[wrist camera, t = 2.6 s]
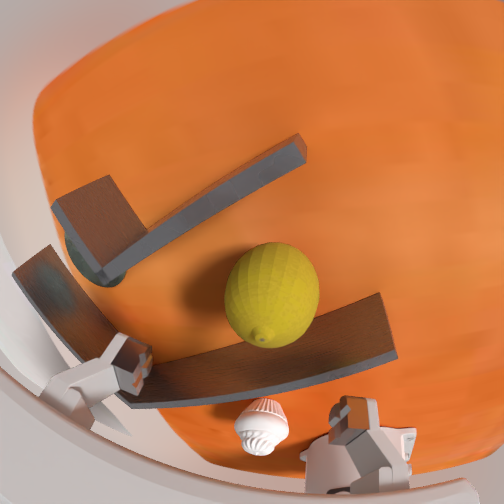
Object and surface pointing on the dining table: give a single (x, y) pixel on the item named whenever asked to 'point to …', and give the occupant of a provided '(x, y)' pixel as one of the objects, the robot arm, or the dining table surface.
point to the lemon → (271, 295)
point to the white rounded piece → (261, 426)
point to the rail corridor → (214, 362)
